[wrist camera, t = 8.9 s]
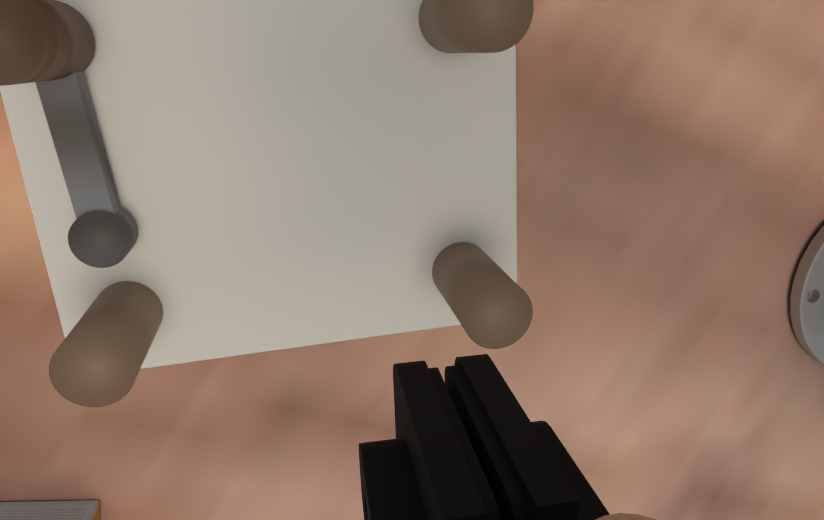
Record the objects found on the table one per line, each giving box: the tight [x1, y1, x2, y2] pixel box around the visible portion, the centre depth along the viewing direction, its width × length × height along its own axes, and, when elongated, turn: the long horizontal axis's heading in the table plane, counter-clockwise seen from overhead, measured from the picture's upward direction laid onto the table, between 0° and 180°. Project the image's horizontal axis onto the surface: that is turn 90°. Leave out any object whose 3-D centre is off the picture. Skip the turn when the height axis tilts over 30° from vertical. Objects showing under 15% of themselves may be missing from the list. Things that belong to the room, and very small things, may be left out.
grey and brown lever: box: [0, 0, 138, 268], centre depth 24 cm, size 11×3×6 cm, turn 6°
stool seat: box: [0, 0, 533, 407], centre depth 27 cm, size 22×18×8 cm
